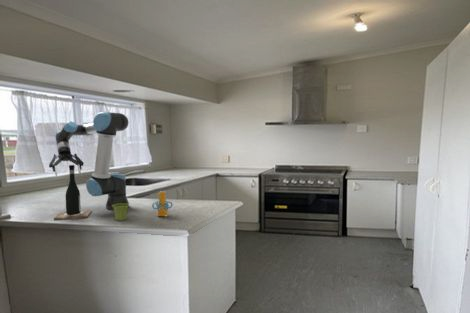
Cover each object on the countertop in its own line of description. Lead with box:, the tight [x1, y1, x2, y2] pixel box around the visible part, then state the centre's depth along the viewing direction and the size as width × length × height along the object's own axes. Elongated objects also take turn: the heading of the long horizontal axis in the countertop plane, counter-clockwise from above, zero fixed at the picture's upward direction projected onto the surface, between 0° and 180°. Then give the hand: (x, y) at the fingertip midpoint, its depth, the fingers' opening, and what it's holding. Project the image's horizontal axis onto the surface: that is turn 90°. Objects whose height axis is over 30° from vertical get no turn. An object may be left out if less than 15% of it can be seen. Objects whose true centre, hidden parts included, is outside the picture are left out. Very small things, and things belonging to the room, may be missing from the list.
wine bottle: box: [65, 164, 82, 215], centre depth 199 cm, size 8×8×30 cm
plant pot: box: [112, 203, 130, 221], centre depth 191 cm, size 9×9×9 cm
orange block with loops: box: [151, 190, 173, 217], centre depth 199 cm, size 12×10×15 cm
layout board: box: [53, 209, 93, 221], centre depth 200 cm, size 18×16×1 cm
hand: (68, 174), depth 209 cm, fingers open, 13 cm apart
